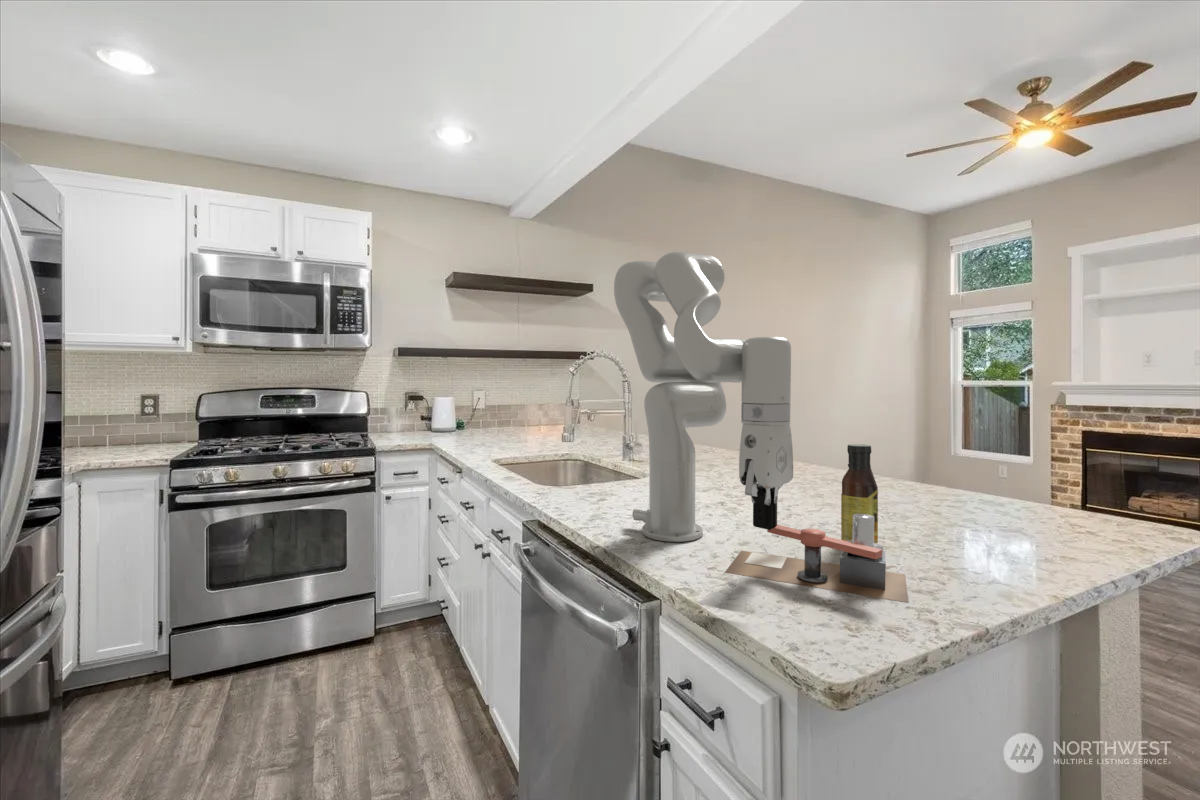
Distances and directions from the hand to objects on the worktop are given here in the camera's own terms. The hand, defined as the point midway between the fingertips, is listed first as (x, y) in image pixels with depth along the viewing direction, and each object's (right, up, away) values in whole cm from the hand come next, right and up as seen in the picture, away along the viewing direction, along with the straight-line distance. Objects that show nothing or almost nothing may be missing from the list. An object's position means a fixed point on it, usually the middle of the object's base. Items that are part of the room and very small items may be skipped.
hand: (764, 527), depth 86 cm
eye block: (+14, -9, -3) cm, 17 cm away
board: (+8, -8, 0) cm, 12 cm away
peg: (+14, -8, -3) cm, 17 cm away
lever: (+7, -2, -3) cm, 8 cm away
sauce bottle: (+22, -8, +14) cm, 28 cm away
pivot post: (+7, -9, -2) cm, 11 cm away
